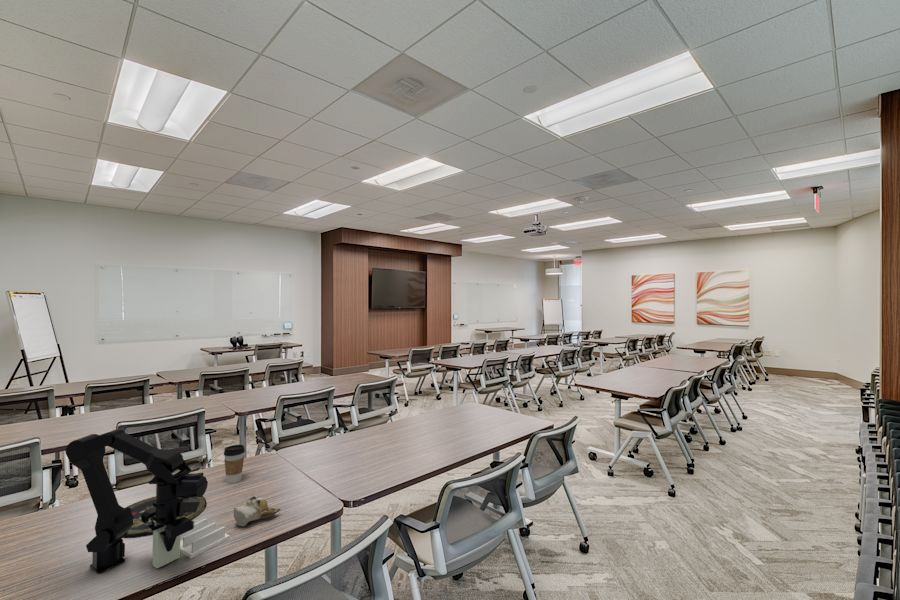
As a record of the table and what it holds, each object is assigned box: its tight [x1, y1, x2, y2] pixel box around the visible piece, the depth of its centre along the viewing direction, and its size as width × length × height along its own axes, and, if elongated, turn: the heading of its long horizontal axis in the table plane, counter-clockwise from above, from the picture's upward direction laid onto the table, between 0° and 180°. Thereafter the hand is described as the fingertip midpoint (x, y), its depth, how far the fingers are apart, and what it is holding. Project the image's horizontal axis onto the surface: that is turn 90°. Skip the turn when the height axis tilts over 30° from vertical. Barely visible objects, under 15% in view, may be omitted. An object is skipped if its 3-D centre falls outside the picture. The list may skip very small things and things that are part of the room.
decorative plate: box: [122, 495, 207, 539], centre depth 146 cm, size 30×2×30 cm
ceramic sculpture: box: [233, 496, 281, 527], centre depth 143 cm, size 11×9×15 cm
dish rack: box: [180, 517, 230, 559], centre depth 129 cm, size 12×13×4 cm
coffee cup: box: [223, 444, 246, 484], centre depth 175 cm, size 8×8×15 cm
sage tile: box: [152, 526, 181, 569], centre depth 118 cm, size 6×3×10 cm, turn 150°
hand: (166, 549), depth 118 cm, fingers closed on sage tile, 3 cm apart
